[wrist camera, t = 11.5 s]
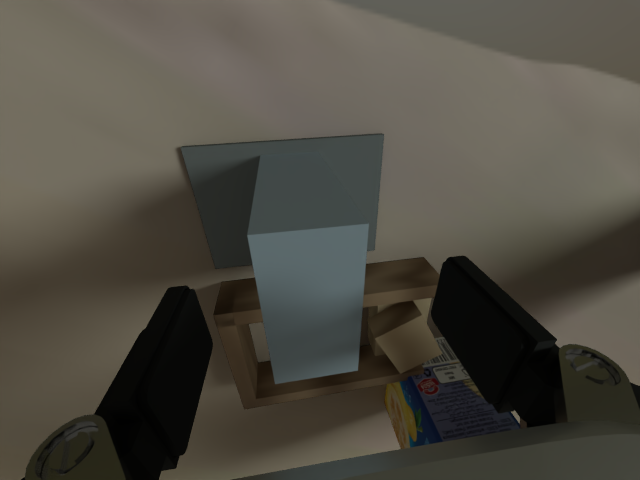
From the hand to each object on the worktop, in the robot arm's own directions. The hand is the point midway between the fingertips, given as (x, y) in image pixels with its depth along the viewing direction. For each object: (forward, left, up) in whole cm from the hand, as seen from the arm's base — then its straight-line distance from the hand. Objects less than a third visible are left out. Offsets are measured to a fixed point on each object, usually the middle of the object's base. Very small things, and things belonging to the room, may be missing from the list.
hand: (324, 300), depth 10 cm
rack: (-2, +11, -10) cm, 15 cm away
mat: (+1, 0, -10) cm, 10 cm away
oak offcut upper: (-8, +11, -8) cm, 16 cm away
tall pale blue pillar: (+1, 0, -9) cm, 9 cm away
